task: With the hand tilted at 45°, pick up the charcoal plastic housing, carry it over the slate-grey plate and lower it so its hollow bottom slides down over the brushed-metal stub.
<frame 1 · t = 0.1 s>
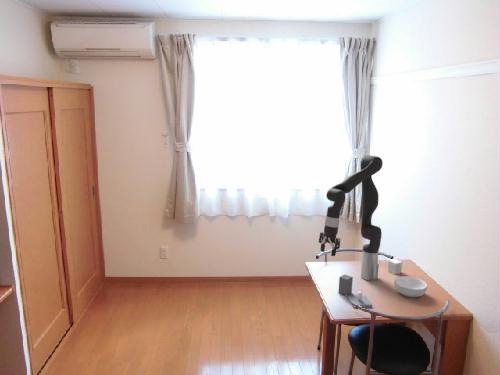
hand: (327, 253, 222), 22 cm above the table, tool pointing down, fingers open, 8 cm apart
stub base: (359, 302, 213), on the table
housing: (345, 292, 224), on the table
product box: (394, 272, 255), on the table
cereal bowl: (409, 294, 224), on the table
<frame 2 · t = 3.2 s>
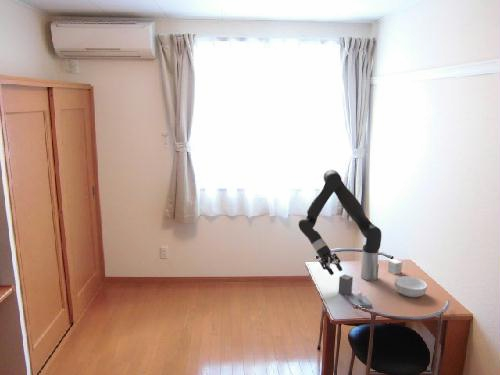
hand: (337, 272, 226), 10 cm above the table, tool tilted 45°, fingers open, 8 cm apart
nothing on the table moved.
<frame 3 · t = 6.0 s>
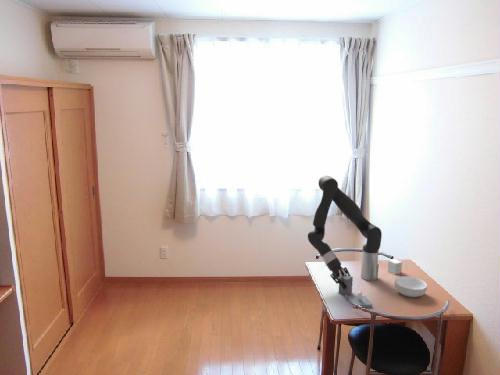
hand: (348, 287, 222), 4 cm above the table, tool tilted 45°, fingers closed on housing, 5 cm apart
housing: (345, 292, 224), on the table, touching gripper
everything else where it was.
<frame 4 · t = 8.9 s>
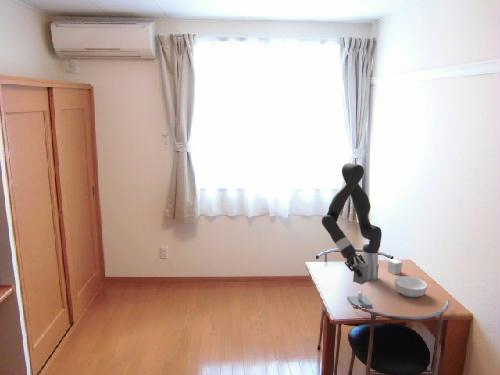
hand: (363, 275, 208), 16 cm above the table, tool tilted 45°, fingers closed on housing, 5 cm apart
housing: (360, 281, 210), point 12 cm above the table, touching gripper
everything else where it was.
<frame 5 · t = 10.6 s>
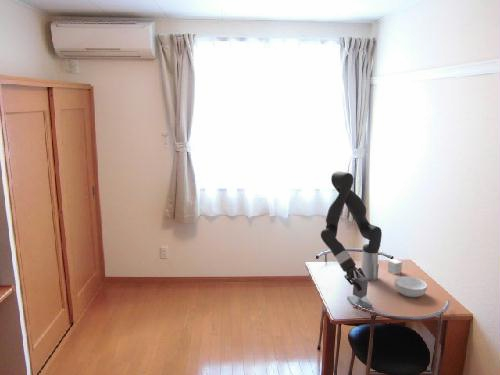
hand: (363, 288, 210), 9 cm above the table, tool tilted 45°, fingers closed on housing, 5 cm apart
housing: (359, 295, 212), point 5 cm above the table, touching gripper
everything else where it was.
when the fingers open (7 cm above the table, at t = 11.9 s): housing drops 1 cm, resting on stub base.
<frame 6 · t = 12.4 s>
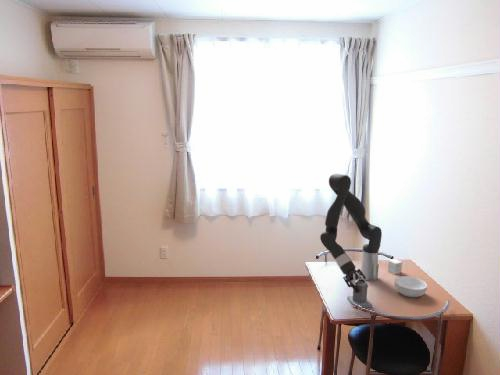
hand: (362, 290, 210), 8 cm above the table, tool tilted 45°, fingers open, 8 cm apart
housing: (359, 300, 212), point 1 cm above the table, touching stub base
everything else where it was.
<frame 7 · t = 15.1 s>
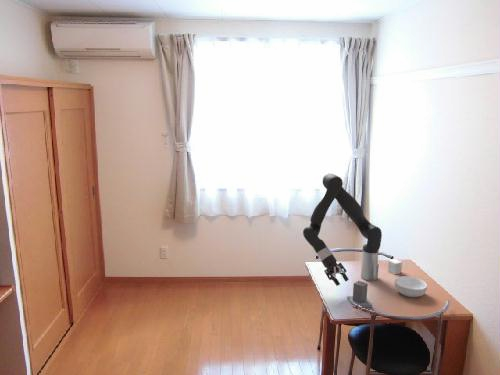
hand: (343, 282, 219), 8 cm above the table, tool tilted 45°, fingers open, 8 cm apart
nothing on the table moved.
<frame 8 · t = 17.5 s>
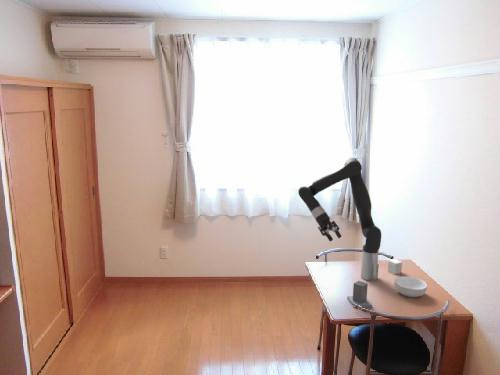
hand: (336, 239, 227), 29 cm above the table, tool tilted 45°, fingers open, 8 cm apart
nothing on the table moved.
at the end: housing 0.0 cm from the stub base (horizontally); housing point 1.5 cm above the table; housing tilted 0° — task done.
